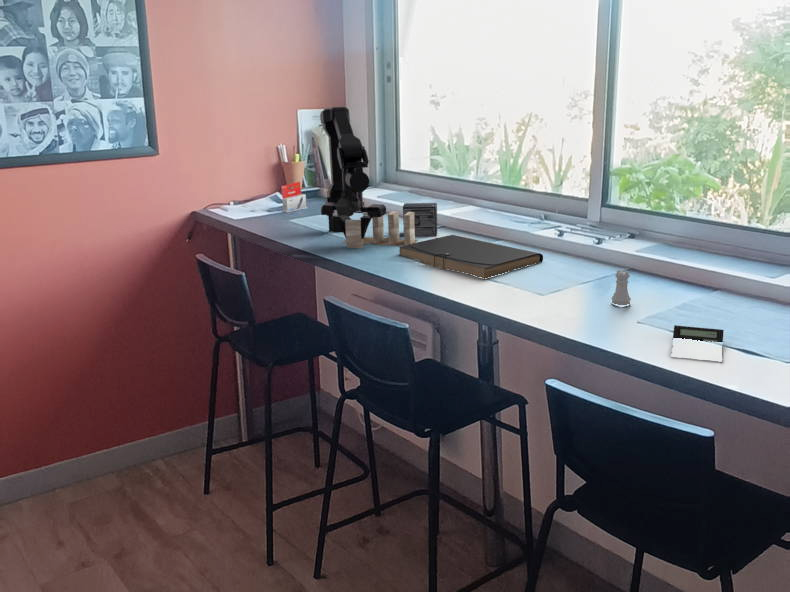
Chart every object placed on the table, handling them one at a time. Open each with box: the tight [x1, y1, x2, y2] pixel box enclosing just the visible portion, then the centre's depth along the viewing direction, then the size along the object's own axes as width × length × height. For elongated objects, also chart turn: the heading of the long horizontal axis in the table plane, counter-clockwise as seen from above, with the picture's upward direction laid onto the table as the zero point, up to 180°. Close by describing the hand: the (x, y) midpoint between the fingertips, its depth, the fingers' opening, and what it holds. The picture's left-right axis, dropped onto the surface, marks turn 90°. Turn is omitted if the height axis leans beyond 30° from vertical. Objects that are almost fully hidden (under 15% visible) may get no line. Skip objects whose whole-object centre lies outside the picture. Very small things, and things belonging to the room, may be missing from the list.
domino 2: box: [371, 215, 385, 243], centre depth 248 cm, size 2×5×9 cm, turn 162°
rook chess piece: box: [611, 269, 632, 305], centre depth 187 cm, size 4×4×8 cm
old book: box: [398, 234, 544, 280], centre depth 228 cm, size 33×4×24 cm
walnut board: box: [342, 236, 419, 247], centre depth 249 cm, size 22×8×1 cm, turn 72°
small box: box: [402, 202, 438, 238], centre depth 255 cm, size 11×6×10 cm, turn 84°
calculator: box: [672, 325, 724, 343], centre depth 160 cm, size 9×12×3 cm
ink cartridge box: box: [280, 181, 307, 213], centre depth 302 cm, size 2×11×10 cm, turn 147°
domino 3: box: [387, 210, 400, 244], centre depth 247 cm, size 2×5×9 cm, turn 162°
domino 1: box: [345, 218, 365, 249], centre depth 242 cm, size 2×5×9 cm, turn 72°
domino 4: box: [403, 212, 416, 245], centre depth 245 cm, size 2×5×9 cm, turn 162°
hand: (354, 238), depth 242 cm, fingers closed on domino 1, 5 cm apart
